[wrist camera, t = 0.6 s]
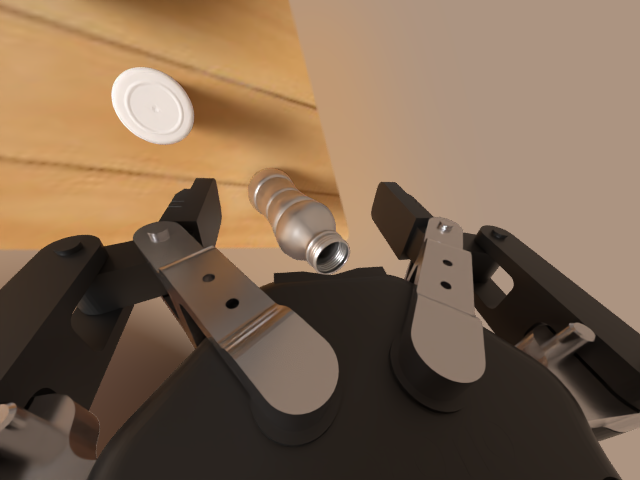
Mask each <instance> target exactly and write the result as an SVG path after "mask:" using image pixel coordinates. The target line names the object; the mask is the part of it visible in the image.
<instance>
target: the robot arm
mask: <svg viewBox="0 0 640 480" xmlns="http://www.w3.org/2000/svg"><path fill="white" fill-rule="evenodd" d="M371 215H372V219H373V221H374V223H375V224H376V225H377V227H378V228H379V230H380V232H381V233H382V235H383V236H384V238H385V239H386V241H387V242H388V244H389V245H390V247H391V248H392V250H393V252H394V253H395V255H396V256H397V258H398V259H399V260H405V259H410V260H411V261H410V263H409V265H408V268H407V271H406V275H405V278H404V279H402V278H399V277H396V276H392V275H387V274H386V272H385V271H384V269H383V267H368V268H356V269H353V270H349V271H346V272H343V273H339V274H336V275H326V274H318V273H310V272H289V273H274V282H272V283H269V284H267V285H264V286H262V287H260V288H259V287H258V286H257V285H256V284H255V283H253V282H252V281H251V280H250V279H249V278H248V277H247V276H246V275H244V273H243V272H241V271H240V270H239V269H238V268H237V267H236V266H235V265H234V264H233V263H232V262H230V261H229V259H227V258H226V257H225V256H224V255H223V254H222V253H221V252H220V251H219V250H218V249H217V248H215V245H216V241H217V237H218V233H219V229H220V225H221V219H222V215H221V206H220V201H219V195H218V189H217V184H216V180H215V179H214V178H196V179H195V181H194V183H193V185H192V187H191V189H183V190H182V191H180V192H179V193H177V194H175V196H174V198H173V199H172V202H171V203H170V204H169V206H168V207H167V209H166V211H165V212H164V214H163V215H162V217H161V219H160V220H159V222H155V223H151V224H148V225H146V226H143V227H142V228H140V229H139V230H137V231H136V232H135V234H134V236H133V241H129V242H124V243H119V244H114V245H109V246H103V244H102V243H101V241H100V239H99V238H97V237H95V236H92V235H77V236H71V237H67V238H64V239H61V240H58V241H55V242H53V243H51V244H49V245H47V246H46V247H44V248H43V249H41V250H40V251H39V252H38V253H37V254H36V255H35V256H34V257H33V258H32V259H31V260H30V261H29V262H28V263H27V264H26V265H25V266H24V267H23V268H22V269H21V270H20V271H19V272H18V273H17V274H16V275H15V276H14V277H13V278H12V279H11V280H10V281H9V282H8V283H7V284H6V285H5V286H3V287H2V289H1V290H0V480H622V479H621V477H620V476H619V474H618V473H617V471H616V470H615V468H614V467H613V465H612V464H611V462H610V461H609V459H608V458H607V456H606V454H605V453H604V451H603V449H602V448H601V446H600V444H599V443H598V441H601V440H604V439H607V438H610V437H613V436H616V435H619V434H622V433H625V432H628V431H631V430H634V429H637V428H640V334H639V333H638V332H636V331H635V330H634V329H633V328H631V327H630V326H629V325H627V324H626V323H625V322H624V321H622V320H621V319H620V318H619V317H617V316H616V315H615V314H613V313H612V312H611V311H609V310H608V309H607V308H606V307H604V306H603V305H602V304H601V303H599V302H598V301H597V300H596V299H594V298H593V297H591V296H590V295H589V294H588V293H587V292H585V291H584V290H583V289H581V288H580V287H579V286H578V285H576V284H575V283H574V282H572V281H571V280H570V279H569V278H567V277H566V276H565V275H563V274H562V273H561V272H560V271H558V270H557V269H556V268H555V267H553V266H552V265H551V264H549V263H548V262H547V261H546V260H544V259H543V258H542V257H540V256H539V255H538V254H537V253H535V252H534V251H533V250H531V249H530V248H529V247H528V246H526V245H525V244H524V243H522V242H521V241H520V240H519V239H517V238H516V237H515V236H514V235H512V234H511V233H509V232H508V231H506V230H503V229H501V228H498V227H495V226H482V227H481V228H480V230H479V232H478V233H477V235H475V234H469V233H463V230H462V228H461V227H460V226H459V225H458V224H457V223H455V222H453V221H451V220H449V219H446V218H442V217H433V216H432V215H431V214H430V213H429V212H428V211H427V210H426V209H425V208H424V207H422V205H421V204H420V203H419V202H417V200H416V199H414V197H412V196H411V195H409V194H407V193H406V192H405V191H404V190H403V189H402V188H401V187H400V186H399V185H398V184H397V183H395V182H381V183H380V184H379V185H378V188H377V192H376V195H375V199H374V203H373V206H372V211H371ZM499 266H501V267H502V268H503V269H504V270H505V271H506V272H507V273H508V274H509V275H510V276H511V277H512V279H513V282H514V287H513V289H512V290H511V291H510V292H509V294H508V295H506V294H505V293H504V292H503V291H502V290H501V289H500V288H499V287H498V286H497V285H496V284H495V283H494V282H493V280H492V279H491V276H492V275H493V274H494V272H495V271H496V270H497V269H498V267H499ZM160 296H161V298H162V299H163V301H164V302H165V304H166V305H167V307H168V308H169V310H170V311H171V312H172V314H173V315H174V317H175V318H176V320H177V321H178V322H179V324H180V325H181V327H182V328H183V330H184V331H185V333H186V335H187V336H188V338H189V340H190V342H191V344H192V345H193V347H194V349H195V350H194V351H193V352H192V353H191V354H190V355H189V356H188V357H187V358H186V359H185V360H184V362H182V363H181V365H180V366H179V367H178V368H177V369H176V370H175V371H174V372H173V373H172V374H171V375H170V376H169V377H168V378H167V379H166V380H165V381H164V382H163V383H162V385H161V386H160V387H159V388H158V389H157V390H156V391H155V392H154V393H153V394H152V395H151V396H150V397H149V398H148V399H147V400H146V401H145V402H144V403H143V404H142V406H141V407H140V408H139V409H138V410H137V411H136V412H135V413H134V414H133V415H132V416H131V417H130V418H129V419H128V420H127V421H126V422H125V423H124V424H123V426H122V427H121V428H120V429H119V430H118V431H117V432H116V434H115V435H114V436H113V437H112V438H111V440H110V441H109V442H108V444H107V445H106V447H105V448H104V449H103V451H102V452H101V454H100V456H99V457H98V459H97V456H96V445H97V441H98V436H99V431H100V425H99V421H98V419H97V417H96V416H95V415H94V414H92V413H91V412H89V409H90V407H91V404H92V402H93V400H94V397H95V395H96V393H97V390H98V388H99V386H100V383H101V381H102V379H103V376H104V374H105V371H106V369H107V367H108V365H109V362H110V360H111V357H112V355H113V353H114V351H115V349H116V346H117V344H118V342H119V339H120V337H121V335H122V332H123V330H124V327H125V325H126V323H127V321H128V318H129V316H130V314H131V311H132V309H133V307H134V304H137V303H140V302H143V301H146V300H150V299H153V298H156V297H160ZM76 306H77V308H76ZM474 307H475V308H476V309H477V311H478V312H479V313H480V315H481V316H482V317H483V318H484V320H485V321H486V322H487V323H488V325H489V326H490V328H491V329H492V330H493V332H494V333H495V334H494V333H493V332H491V331H489V330H488V329H486V328H484V327H483V326H482V322H481V320H480V319H479V318H477V317H476V316H475V312H474V311H475V310H474ZM75 308H76V310H75V311H74V309H75ZM73 311H74V313H73ZM72 313H73V314H72Z"/></svg>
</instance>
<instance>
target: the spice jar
mask: <svg viewBox="0 0 640 480" xmlns="http://www.w3.org/2000/svg"><path fill="white" fill-rule="evenodd" d="M112 103H113V106H114V109H115V112H116V114H117V116H118V117H119V119H120V120H121V122H122V123H123V124H124V125H125V126H126V127H127V128H128V129H129V130H130V131H131V132H132V133H134V134H135V135H136V136H138V137H140V138H142V139H144V140H146V141H148V142H151V143H155V144H164V145H167V144H174V143H177V142H179V141H181V140H183V139H184V138H185V137H186V136H187V135H188V134H189V133H190V131H191V129H192V127H193V123H194V110H193V106H192V103H191V101H190V98H189V97H188V95H187V93H186V92H185V90H184V89H183V88H182V86H181V85H180V84H179V83H178V82H177V81H175V80H174V79H173V78H172V77H170V76H169V75H167V74H165V73H163V72H161V71H159V70H156V69H152V68H146V67H136V68H131V69H128V70H126V71H124V72H123V73H121V74H120V75H119V76H118V77H117V79H116V80H115V82H114V84H113V88H112Z"/></svg>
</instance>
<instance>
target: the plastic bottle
mask: <svg viewBox="0 0 640 480" xmlns="http://www.w3.org/2000/svg"><path fill="white" fill-rule="evenodd" d="M248 195H249V200H250V202H251V204H252V206H253V207H254V208H255V209H256V210H257V211H258V212H259V213H261V214H262V215H264V216H265V217H266V218H267V219H268V221H269V223H270V225H271V226H272V228H273V231H274V234H275V237H276V240H277V242H278V244H279V246H280V248H281V250H282V251H283V252H284V253H285V254H287V255H288V256H290V257H292V258H293V259H296V260H304V261H307V262H308V263H309V264H310V265H311V266H312V267H313V268H314V269H315V270H316V271H317V272H318V273H320V274H326V275H330V274H333V273H335V272H337V271H338V270H339V269H341V268H342V267H343V266H344V264H345V263H346V262H347V260H348V257H349V254H350V247H349V245H348V244H347V242H346V241H345V240H343V239H342V237H341V236H340V235H339V234H338V233H337V232H336V224H335V220H334V217H333V215H332V213H331V211H330V210H329V209H328V208H327V207H326V206H325V205H323V204H322V203H320V202H318V201H316V200H314V199H312V198H310V197H308V196H306V195H304V194H303V193H301V192H300V191H299V190H298V189H297V188H296V187H295V185H294V183H293V182H292V180H291V179H290V177H289V176H288V175H287V174H286V173H285V172H283V171H281V170H278V169H274V168H266V169H263V170H260V171H259V172H257V173H256V174H255V175H254V176H253V177H252V179H251V180H250V183H249V186H248Z"/></svg>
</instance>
